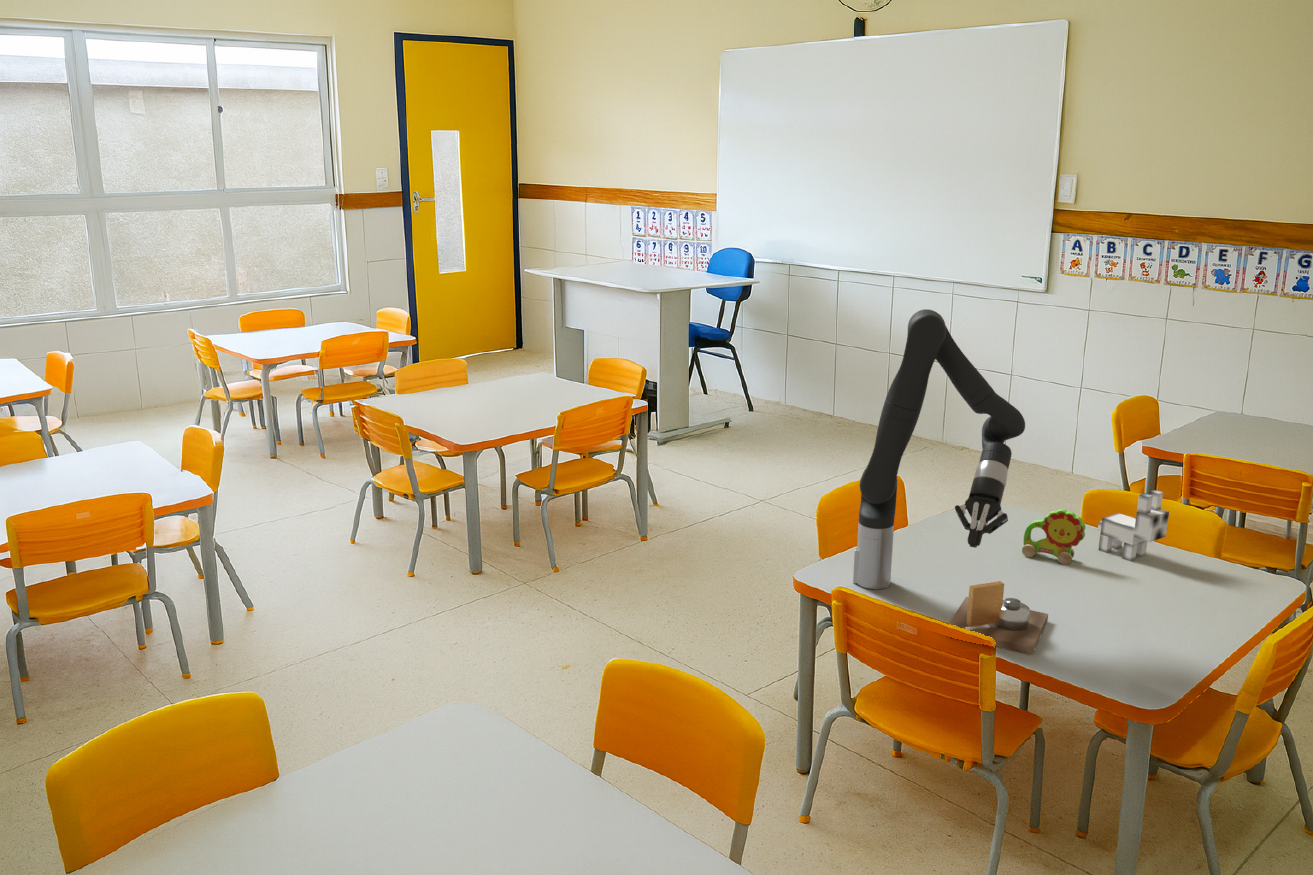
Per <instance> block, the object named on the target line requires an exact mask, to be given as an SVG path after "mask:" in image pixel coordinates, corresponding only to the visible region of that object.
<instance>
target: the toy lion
mask: <svg viewBox="0 0 1313 875" xmlns="http://www.w3.org/2000/svg"><path fill="white" fill-rule="evenodd" d="M1035 528H1040V529H1041V530H1043V532H1044V533H1045V535H1046V537H1044V538H1040V539H1038V540H1034V539H1032V536H1031V535H1032V531H1033V530H1034V529H1035ZM1085 530H1086V524H1085V523H1084V522H1083V519H1082V517H1080V516H1079V515H1076V513H1075V512H1074V511H1070V510H1066V508H1059V509H1058V510H1052V511H1050V513H1049V514H1047V515H1045V516H1044V518H1043V519H1036V520H1033V521H1031V522H1030V523H1029V525H1028V526H1027V527H1026V528H1025V530H1024V534H1023V546H1022V548H1021V553H1022V555H1023V556H1024V557H1027V558H1032V557H1034V556H1035V555H1036V554H1038V553H1042V554H1044V553H1045V554H1048V555H1051V556H1054V557H1055V558H1057V561H1058V562H1059V563H1060V564H1061V565H1065V566H1066V565H1069V564H1071V562H1072V561H1073V558H1074V556H1075V550H1074V548H1073V547H1077V546H1078V545H1079V544H1080V543H1081V541H1083V540H1084V539H1085V536H1086V533H1085Z"/></svg>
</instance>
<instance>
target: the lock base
mask: <svg viewBox="0 0 1313 875" xmlns="http://www.w3.org/2000/svg"><path fill="white" fill-rule="evenodd" d="M968 598H969V596H965V598H964V600H963V601H962V603H961V604H960V606H959V607H958V608H957V610H956V612H955V613H953V614H954V615H953V616H952V618H951V619H950V620H949V622H948V624H951V625H956V626H958V627H960V628H964V629H967V630H970V631H975V632H978V633H981V634H984V635H985V636H990V637H992V638H993V639H994V640H995V642H996V646H997V647H996V648H998V647H999V649H1003V648H1005V649H1004V650H1007V649H1008V651H1011V650H1012V651H1013V652H1016V653H1021V654H1025V655H1030V656H1033V654H1034V652H1035V650H1036V647H1037V646H1038V642H1039V641H1040V639H1041V637H1040V636H1042V634H1043V631H1044V630H1045V628H1046V625H1047V623H1048V621H1049V613H1047V612H1046V613H1045V612H1041V611H1036V610H1032V609H1030V612H1029V621H1028V627H1027V628H1025V629H1021V630H1010V629H1005V628H1002V627H1000V626H998V625H996V624H995V623H992V624H986V625H980V626H974V627H969V626H968V625H967V624H966V622H967V610H968ZM1034 649H1035V650H1034Z"/></svg>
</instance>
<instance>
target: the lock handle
mask: <svg viewBox="0 0 1313 875" xmlns="http://www.w3.org/2000/svg"><path fill="white" fill-rule="evenodd" d="M968 588H969V589H968V597H969V598H968V610H967V622H966V624H967V625H968V626H969V627H974V626H980V625H986V624H992V623H995V624H996V625H998V626H1000V627H1002V628H1005V629H1010V630H1021V629H1025V628H1027V627H1028V621H1029V612H1030V610H1031V609H1030V607H1029V606H1028V605H1027V604H1025V603H1023V602H1021V600H1020V599H1018V598H1013V597H1007V598H1005V599H1004V593H1005V591H1004V590H1005V583H1004V582H1002V581H1001V580H999V581H992V582H987V583H979V584H973V585H969V587H968Z"/></svg>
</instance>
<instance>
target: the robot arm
mask: <svg viewBox="0 0 1313 875" xmlns="http://www.w3.org/2000/svg"><path fill="white" fill-rule="evenodd" d="M906 336H907V338H906V341H905V348H904V351H903V352H904V353H903V357H902V359H901V364H900V367H899V368H898V370H897V372H896V375H894V378H893V380H892V382H891V385H890V387H889V389H888V391H887V393H886V396H885V400H884V403H883V407H882V409H881V413H880V417H879V422H878V427H877V431H876V435H875V436H876V437H875V443H874V446H873V450H872V453H871V455H870V458H869V461H868V464H867V465H866V467H865V469H864V471H863V472H862V475H861V477H860V480H859V491H860V494H861V495H860V505H859V512H858V528H857V545H856V546H857V547H856V549H854V556H853V572H852V573H853V575H852V577H853V578H852V583H853V584H856V583H857V584H856V585H858V586H860V587H862V588H864V589H871V590H882V589H885V588H888V587H889V586H891V579H892V578H891V577H892V565H893V564H892V562H893V561H892V560H893V548H894V547H893V546H894V529H895V528H894V527H895V517H896V516H895V515H896V508H897V507H896V506H897V492H898V473H899V467H900V464H901V461H902V458H903V455H904V453H905V451H906V448H907V446H908V445H909V442H910V440H911V437H912V436H913V433H914V430H915V428H916V425H917V423H918V420H919V418H920V414H921V411H922V407H923V404H924V400H925V397H926V392H927V388H928V384H929V378H930V374H931V371H932V368H933V365H934V363H935V361H936V362H937V363H938V364H939V365H940V368H942V369H943V371H944V373H945V374H946V375H947V377H948V378H949V380H950V382H951V384H952V385H953V386H954V388H955V390H956V391H957V393H959V394H960V396H961V397H962V400H964V402H966V404H967V405H968V406H969V407H970V409H971V410H972V411H973V412H974V413H975V414H978V415H979V414H980V415H984V414H986V415H988V416H989V417H987V418H986V420H985V421H984V422H983V424H982V428H981V444H982V445H981V449H982V450H981V454H980V458H979V461H978V464H977V467H976V469H975V472H974V477H973V479H972V483H971V488H970V491H969V495H968V498H967V499H965V501H964V504H962V505H958V504H957V505H955V506H954V510H955V513H956V514H957V516H958V519H959V520H960V523H961V524H962V526H963V527H964V529H965V530H967V531H969V533H968V537H967V544H968V545H969V547H970V548H975V549H976V548H978V547H979V546H981V543H982V539H983V538H982V537H983V535H984V534H989V535H990V534H992V533H994V532H995V531H997V530H998V529H999V528H1000V527H1002V526H1003V525H1004V524H1006V523H1007V522H1008V521H1009V518H1008V517H1009V516H1008V514H1007V513H1005V512H1003V511H1002V500H1003V495H1004V492H1005V489H1006V485H1007V480H1008V473H1009V472H1008V471H1009V467H1010V463H1011V459H1012V454H1013V453H1012V449H1011V447H1010V446H1008V445H1007V444H1005V442H1006V441H1008V440H1010V439H1014V438H1017V437H1019V436H1021V435H1023V433H1024V431H1025V430H1026V420H1025V418H1024V416H1023V414H1022V413H1021V412H1020V410H1019V409H1017V408H1016V407H1015V406H1013V405H1012V404H1011V403H1010V402H1008V401H1007V400H1006V399H1005V398H1004V397H1002V396H1001V395H999V394H998V393H997V392H996V391H995V390H994V389H993V388H992V386H991V385H990V384H989V382H988V381H987V380H986V378H984V376H983V375H982V374H981V372H979V371H978V369H977V368H976V367H975V366H974V364H973V363H972V362H971V361H970V360H969V358H968V357H967V356H966V354H964V352H963V351H962V350H961V348H960V347H959V345H958V344H957V342H956V341H955V340H954V338H953V336H952V334H951V333H950V331H949V329H948V328H947V325H946V321H945V319H944V317H943V316H942V314H940V313H938V312H937V311H935V310H932V309H920V310H918V311H916V312H915V313H914V314H912V315H911V317H910V318H909V320H908V323H907V335H906ZM966 510H967V512H968V515H969V516H970V518H971V520H970V522H969V521H968V519H967V517H966V515H965V514H967V513H966ZM995 517H996V518H995ZM991 520H992V521H991ZM989 522H990V523H989Z"/></svg>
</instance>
